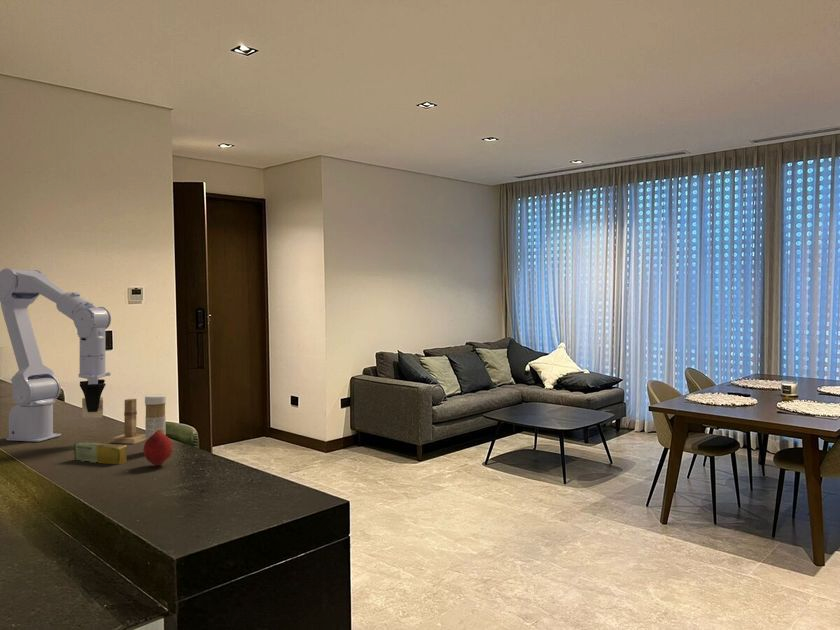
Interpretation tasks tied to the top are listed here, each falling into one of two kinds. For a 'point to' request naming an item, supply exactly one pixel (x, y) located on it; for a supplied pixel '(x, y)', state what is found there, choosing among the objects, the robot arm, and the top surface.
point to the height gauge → (129, 425)
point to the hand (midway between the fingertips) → (92, 410)
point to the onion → (158, 448)
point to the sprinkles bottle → (154, 414)
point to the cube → (92, 414)
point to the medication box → (100, 452)
